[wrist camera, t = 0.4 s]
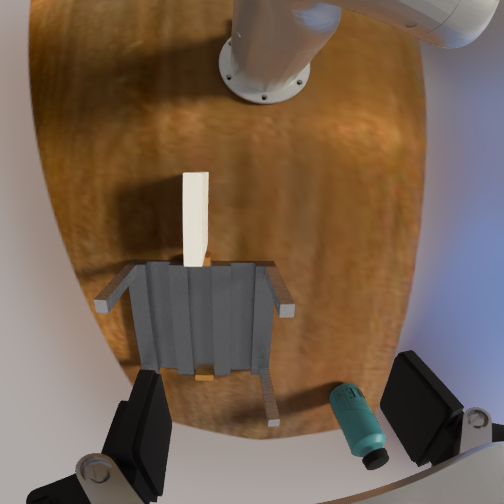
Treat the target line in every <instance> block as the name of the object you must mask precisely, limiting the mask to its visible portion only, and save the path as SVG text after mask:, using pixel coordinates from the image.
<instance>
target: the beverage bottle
mask: <svg viewBox="0 0 504 504" xmlns="http://www.w3.org/2000/svg"><path fill="white" fill-rule="evenodd" d="M361 393H362V392H361V390H360V389H359V388H358V387H357V385H355V384H353V383H345V384H342V385H339V386H338V387H336V388H335V389H334V390H333V391H332V392H331V394H330V396H329V402H330V403H329V404H331V406H332V407H331V408H332V410H333V411H334V412H333V413H335V415H336V418H337V420H338V422H339V424H338V425H339V426H340V427H341V429H342V431H343V433H344V435H345V438H346V440H347V442H348V445H349V447H350V450H351V453H352V454H353V455H355V456H358V457H364V458H363V459H362V462H363V464H364V465H365V467H366V468H367V470H374V469H377V468H380V467H381V466H383V465H384V464H386V463H387V462H388V460H389V456H388V454H387V451H386V449H385V448H382V446H383V445H384V442H385V440H386V436H385V434H384V433H383V431H382V429H381V428H380V426H379V423H378V421H377V420H376V418H375V416H374V415H373V413H372V411H371V409H370V408H369V406H368V404H367V402H366V401H365V399H364V398H365V397H364V396H363V394H361Z"/></svg>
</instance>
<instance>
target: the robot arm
mask: <svg viewBox="0 0 504 504" xmlns="http://www.w3.org/2000/svg"><path fill="white" fill-rule="evenodd" d="M498 3H499V0H234V1H233V17H232V35H231V37H230V38H229V39H228V40H227V41H226V43H225V44H224V45H223V47H222V50H221V52H220V56H219V70H220V74H221V76H222V79H223V81H224V82H225V84H226V85H227V87H228V88H229V89H230V90H231V91H232V92H233V93H235V94H236V95H237V96H239V97H240V98H243V99H245V100H247V101H250V102H253V103H257V104H276V103H280V102H283V101H286V100H288V99H290V98H292V97H293V96H295V95H296V94H297V93H298V92H299V91H300V90H301V89H302V88H303V87H304V86H305V84H306V82H307V80H308V78H309V73H310V61H311V60H312V59H313V57H314V56H315V55H316V54H317V53H318V52H319V50H320V49H321V48H322V47H323V46H324V45H325V43H326V42H327V41H328V40H329V39H330V37H331V36H332V35H333V34H334V33H335V31H336V29H337V28H338V25H339V22H340V19H341V8H343V9H347V10H350V11H353V12H358V13H360V14H363V15H366V16H369V17H371V18H374V19H376V20H379V21H381V22H384V23H386V24H388V25H391V26H393V27H395V28H397V29H400V30H402V31H404V32H406V33H408V34H411V35H413V36H415V37H417V38H419V39H421V40H423V41H426V42H428V43H430V44H433V45H436V46H439V47H444V48H457V47H461V46H464V45H467V44H469V43H470V42H472V41H473V40H475V39H476V38H477V37H478V36H479V35H480V34H481V33H482V32H483V31H484V29H485V28H486V27H487V25H488V24H489V22H490V20H491V18H492V17H493V14H494V12H495V10H496V8H497V5H498ZM229 45H231V46H229ZM227 78H231V80H227ZM297 83H299V84H300V85H298V84H297ZM262 97H264V98H265V100H262ZM380 408H381V410H382V412H383V413H384V415H385V417H386V418H387V420H388V422H389V423H390V425H391V427H392V428H393V430H394V432H395V433H396V435H397V437H398V438H399V440H400V441H401V443H402V445H403V446H404V448H405V450H406V452H407V454H408V455H409V457H410V459H411V460H412V461H413V462H416V464H417V465H418V467H420V466H422V465H424V464H426V463H429V461H430V462H431V463H432V466H431V468H429V469H427V470H425V471H422V472H420V473H417V474H415V475H412V476H410V477H407V478H405V479H402V480H399V481H397V482H394V483H391V484H389V485H385V486H383V487H379V488H376V489H373V490H370V491H367V492H363V493H360V494H356V495H352V496H349V497H345V498H341V499H336V500H332V501H328V502H323V503H318V504H504V425H500V424H495V423H492V420H491V417H490V415H489V413H488V412H486V411H485V410H484V409H481V408H478V407H473V408H469V409H467V410H466V411H465V412H463V411H462V409H463V408H464V406H463V405H462V404H461V403H460V402H459V401H458V399H457V398H456V397H455V396H454V395H453V394H452V393H451V391H450V390H449V389H448V388H447V387H446V386H445V385H444V384H443V383H442V381H441V380H440V379H439V378H438V377H437V376H436V375H435V374H434V373H433V372H432V371H431V369H430V368H429V367H428V366H427V365H426V364H425V363H424V362H423V361H422V360H421V359H420V358H419V357H418V356H417V355H416V353H415V352H414V351H412V350H410V351H406V352H401V353H399V354H398V356H397V357H396V358H395V359H394V363H393V366H392V369H391V372H390V375H389V378H388V381H387V384H386V387H385V390H384V393H383V396H382V398H381V401H380ZM171 430H172V420H171V416H170V412H169V408H168V404H167V400H166V395H165V391H164V387H163V382H162V377H161V375H160V374H156V371H155V370H145V369H140V371H139V373H138V375H137V378H136V381H135V384H134V386H133V389H132V392H131V395H130V398H129V400H128V401H121V402H120V403H119V405H118V408H117V410H116V413H115V416H114V418H113V421H112V424H111V427H110V429H109V432H108V435H107V438H106V441H105V443H104V446H103V449H102V452H101V454H100V453H92V454H88V455H86V456H84V457H82V458H81V459H80V460H79V461H78V463H77V465H76V470H75V472H76V473H75V474H73V475H71V476H68V477H66V478H64V479H61V480H58V481H56V482H54V483H51V484H48V485H46V486H43V487H40V488H37V489H35V490H33V491H31V492H30V494H29V495H28V497H27V499H26V504H149V503H150V502H157V497H158V496H162V494H163V488H164V480H165V472H166V465H167V457H168V451H169V444H170V437H171Z"/></svg>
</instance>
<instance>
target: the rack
mask: <svg viewBox="0 0 504 504" xmlns="http://www.w3.org/2000/svg"><path fill="white" fill-rule="evenodd" d="M128 286H129V292H130V299H131V307H132V314H133V320H134V327H135V333H136V338H137V344H138V349H139V355H140V360H141V364H142V365H141V367H140V369H145V370H155V371H156V373H159V370H160V367H162V368H178V373H179V374H190V375H194V371H195V369H196V373H195V378H196V380H201V381H214V372H215V375H230V370H249V369H250V370H251V375H259V378H260V384H261V390H262V395H263V401H264V407H265V413H266V419H267V424H268V427H270V426H279V422H280V417H279V413H278V408H277V404H276V399H275V395H274V390H273V385H272V381H271V376H270V372H269V358H270V346H271V334H272V321H273V308H274V304H275V307H276V309H277V312H278V315H279V318H283V317H294V310H295V303H294V301H293V299H292V297H291V295H290V293H289V291H288V289H287V287H286V285H285V283H284V281H283V279H282V277H281V275H280V273H279V271H278V269H277V267H276V265H275V263H274V261H211V253H205V257H204V261H203V265H202V267H184V260H130V261H129V262H128V263H127V265H126V266H125V267H124V268H123V269H122V270H121V271H120V272H119V273H118V274H117V275H116V276H115V277H114V278H113V279H112V280H111V281H110V282H109V284H108V285H107V286H106V287H105V288H104V289H103V290H102V291H101V292H100V293H99V294H98V296H97V297H96V298H95V299H94V303H95V308H96V312H100V313H109V312H110V310H111V309H112V308H113V306H114V305H115V303H116V302H117V301H118V299H119V298H120V297H121V295H122V294H123V293H124V291H125V290H126V289H127V287H128ZM139 371H140V370H139Z"/></svg>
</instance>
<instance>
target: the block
mask: <svg viewBox="0 0 504 504" xmlns="http://www.w3.org/2000/svg"><path fill="white" fill-rule="evenodd" d="M208 174H209V172H187V173H183V254H184V267H202V265H203V261H204V257H205V253H206V249H207V244H208Z"/></svg>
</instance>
